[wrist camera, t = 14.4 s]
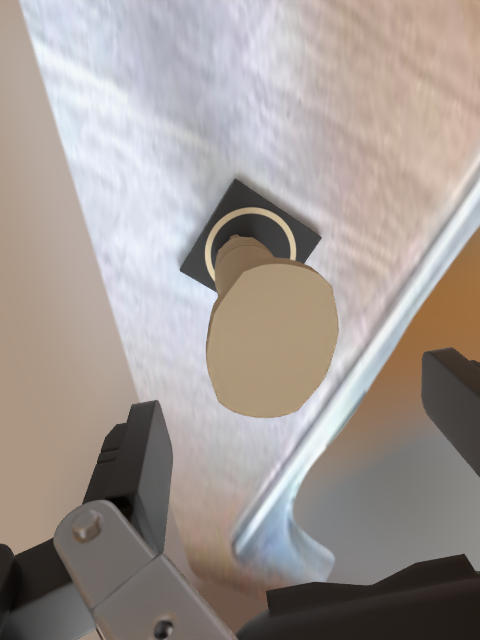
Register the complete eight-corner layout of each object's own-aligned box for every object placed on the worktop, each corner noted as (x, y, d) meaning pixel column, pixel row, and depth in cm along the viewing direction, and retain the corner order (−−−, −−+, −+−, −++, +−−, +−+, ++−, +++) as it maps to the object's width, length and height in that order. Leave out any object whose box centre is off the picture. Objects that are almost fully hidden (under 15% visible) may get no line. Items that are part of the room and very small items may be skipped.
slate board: (234, 178, 28) (235, 178, 27) (320, 236, 30) (322, 238, 29) (179, 269, 30) (179, 271, 29) (263, 317, 32) (264, 320, 31)
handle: (199, 293, 30) (196, 411, 16) (213, 204, 28) (223, 254, 14) (263, 302, 31) (312, 423, 17) (281, 216, 28) (356, 275, 15)
